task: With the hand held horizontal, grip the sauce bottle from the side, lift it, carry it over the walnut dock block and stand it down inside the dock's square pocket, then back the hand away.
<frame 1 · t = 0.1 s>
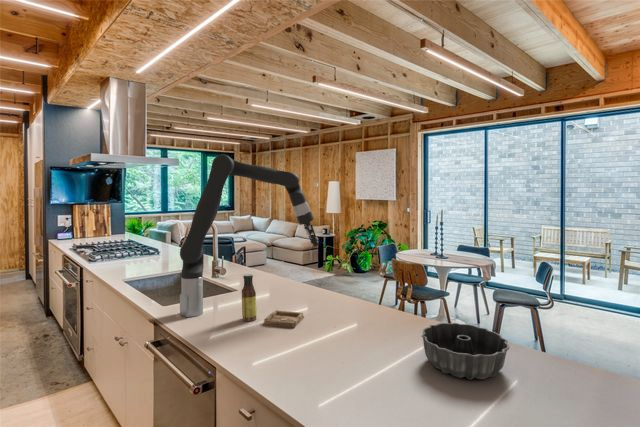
hand: (315, 244, 177), 31 cm above the worktop, tool tilted 20°, fingers open, 8 cm apart
sauce bottle: (249, 319, 163), on the worktop
bundt pan: (462, 367, 120), on the worktop
dock: (284, 321, 162), on the worktop
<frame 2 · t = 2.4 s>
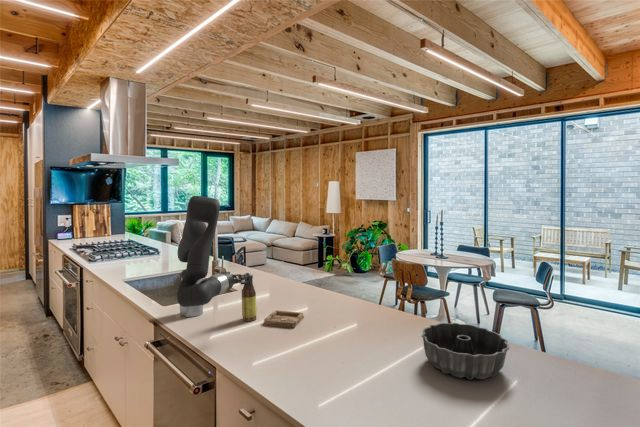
hand: (238, 274, 152), 22 cm above the worktop, tool horizontal, fingers open, 8 cm apart
nothing on the worktop moved.
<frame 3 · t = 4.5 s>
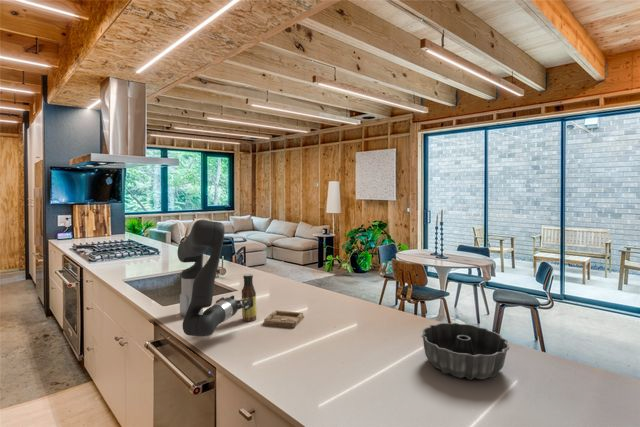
hand: (242, 298, 157), 11 cm above the worktop, tool horizontal, fingers open, 8 cm apart
nothing on the worktop moved.
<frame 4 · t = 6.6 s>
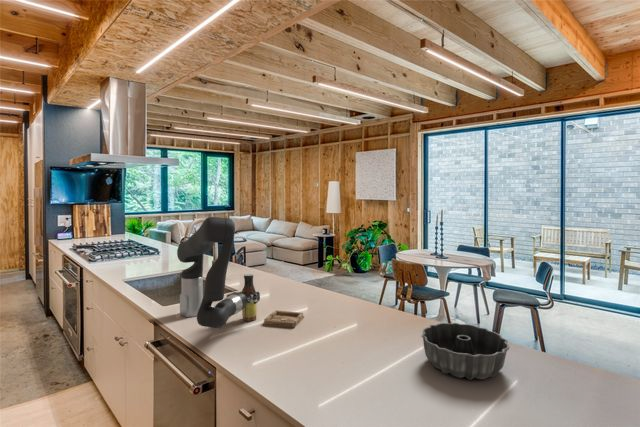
hand: (251, 293, 165), 11 cm above the worktop, tool horizontal, fingers closed on sauce bottle, 6 cm apart
sauce bottle: (249, 319, 163), on the worktop, touching gripper
everything else where it was.
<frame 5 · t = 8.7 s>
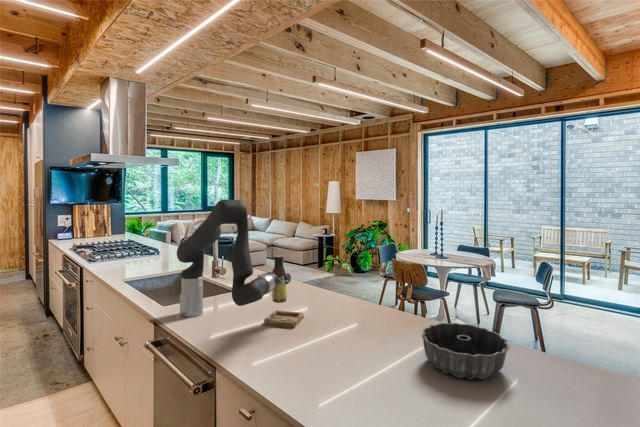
hand: (281, 275, 162), 20 cm above the worktop, tool horizontal, fingers closed on sauce bottle, 6 cm apart
sauce bottle: (278, 301, 161), point 9 cm above the worktop, touching gripper
everything else where it was.
when the fingers open (12 cm above the worktop, at t = 11.3 s): sauce bottle stays where it is, resting on dock.
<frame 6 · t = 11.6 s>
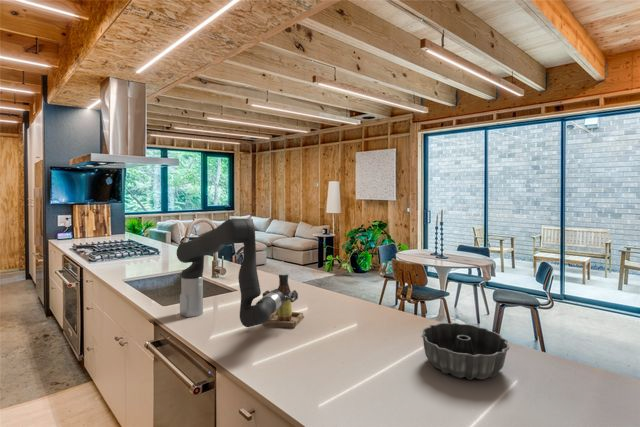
hand: (285, 291, 163), 12 cm above the worktop, tool horizontal, fingers open, 8 cm apart
sauce bottle: (284, 319, 161), point 1 cm above the worktop, touching dock
everything else where it was.
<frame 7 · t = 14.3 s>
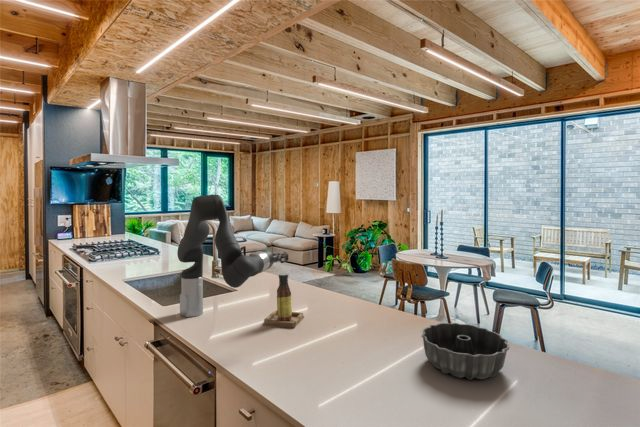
hand: (275, 254, 149), 31 cm above the worktop, tool horizontal, fingers open, 8 cm apart
nothing on the worktop moved.
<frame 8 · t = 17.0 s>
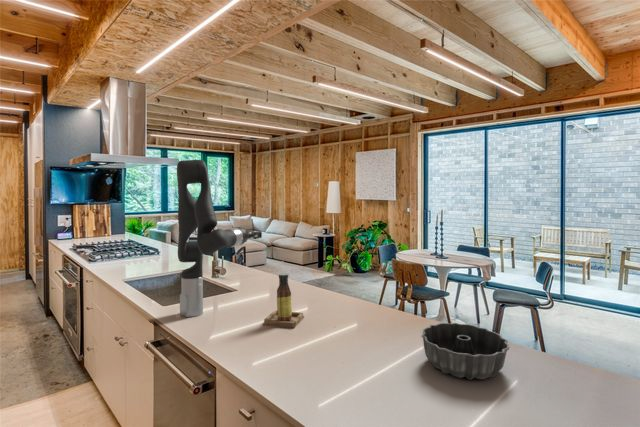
hand: (251, 232, 165), 38 cm above the worktop, tool horizontal, fingers open, 8 cm apart
nothing on the worktop moved.
at the end: sauce bottle 0.2 cm from the dock (horizontally); sauce bottle tilted 0°; the gripper is holding nothing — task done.
